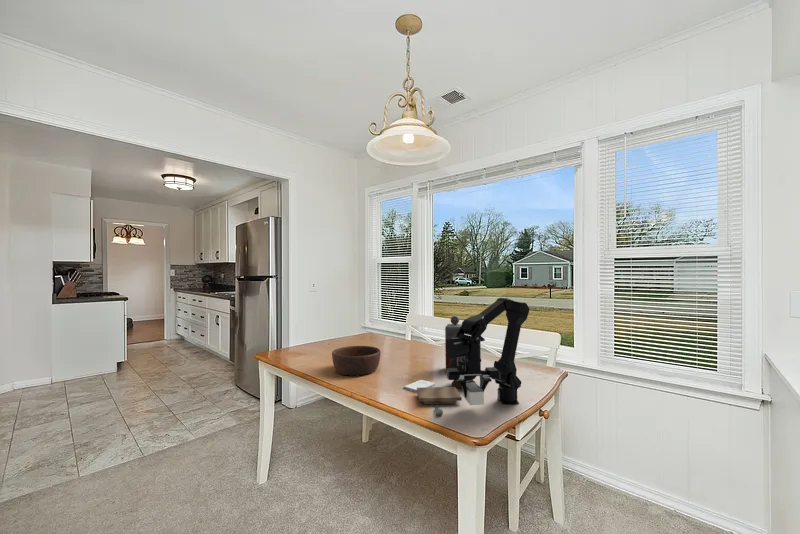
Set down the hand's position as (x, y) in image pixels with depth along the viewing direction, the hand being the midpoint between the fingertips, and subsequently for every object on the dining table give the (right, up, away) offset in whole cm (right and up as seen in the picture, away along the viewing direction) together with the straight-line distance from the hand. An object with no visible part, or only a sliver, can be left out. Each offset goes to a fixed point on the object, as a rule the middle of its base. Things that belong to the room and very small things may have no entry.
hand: (473, 397), depth 126 cm
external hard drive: (-18, -6, +27) cm, 33 cm away
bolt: (-13, -5, 0) cm, 14 cm away
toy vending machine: (+2, -6, +52) cm, 52 cm away
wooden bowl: (-49, -7, +53) cm, 73 cm away
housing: (0, -1, 0) cm, 1 cm away
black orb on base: (+2, -6, +28) cm, 29 cm away
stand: (-11, -5, +12) cm, 17 cm away
